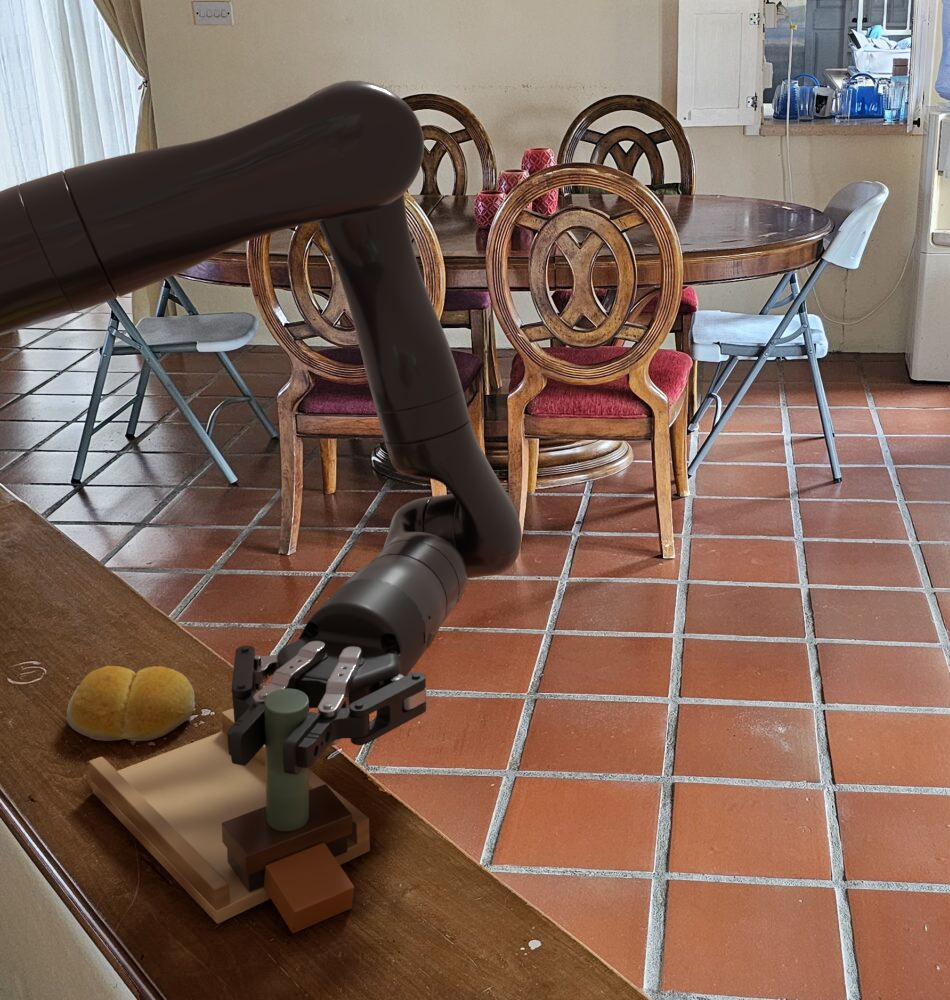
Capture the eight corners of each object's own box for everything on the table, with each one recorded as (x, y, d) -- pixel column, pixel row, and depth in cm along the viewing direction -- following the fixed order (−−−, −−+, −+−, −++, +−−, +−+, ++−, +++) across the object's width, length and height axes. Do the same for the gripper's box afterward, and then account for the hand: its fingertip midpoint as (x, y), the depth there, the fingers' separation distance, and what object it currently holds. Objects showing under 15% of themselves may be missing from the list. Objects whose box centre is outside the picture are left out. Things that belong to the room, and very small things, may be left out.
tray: (92, 792, 90) (88, 760, 90) (235, 737, 98) (233, 707, 97) (217, 924, 78) (214, 889, 77) (370, 851, 86) (369, 818, 85)
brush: (222, 861, 82) (216, 703, 76) (325, 821, 86) (326, 668, 81) (247, 896, 79) (242, 735, 74) (352, 853, 84) (355, 697, 78)
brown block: (263, 886, 80) (265, 865, 79) (321, 863, 83) (324, 841, 82) (292, 934, 78) (294, 912, 77) (351, 908, 80) (354, 887, 79)
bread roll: (185, 745, 96) (180, 698, 95) (60, 748, 95) (53, 701, 94) (205, 688, 104) (201, 644, 102) (90, 690, 103) (84, 646, 102)
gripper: (283, 563, 91) (148, 682, 75) (472, 590, 88) (373, 719, 73) (288, 658, 94) (159, 791, 78) (472, 686, 91) (376, 831, 75)
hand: (263, 755), depth 76 cm, fingers closed on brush, 2 cm apart
